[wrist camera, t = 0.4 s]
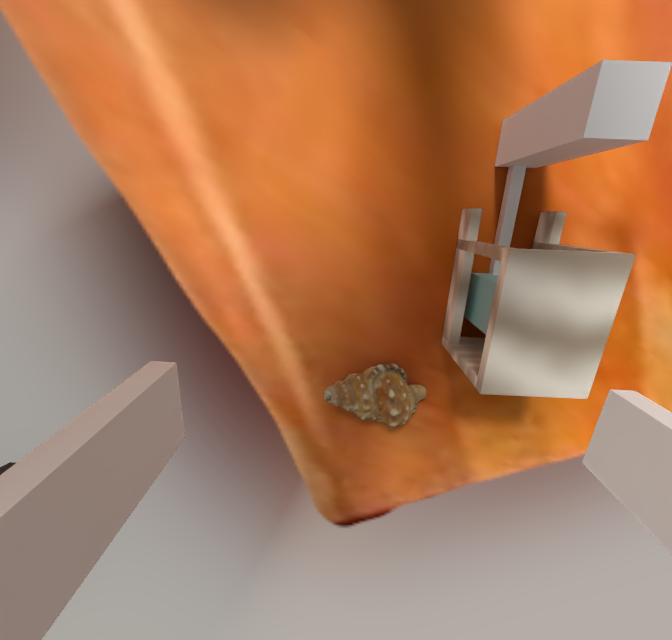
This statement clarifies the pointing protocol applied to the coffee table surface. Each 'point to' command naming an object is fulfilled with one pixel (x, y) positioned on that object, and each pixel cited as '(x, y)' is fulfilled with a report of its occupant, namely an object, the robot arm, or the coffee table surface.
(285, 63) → the coffee table surface
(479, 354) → the shelf
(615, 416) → the robot arm
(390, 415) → the seashell
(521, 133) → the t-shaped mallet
